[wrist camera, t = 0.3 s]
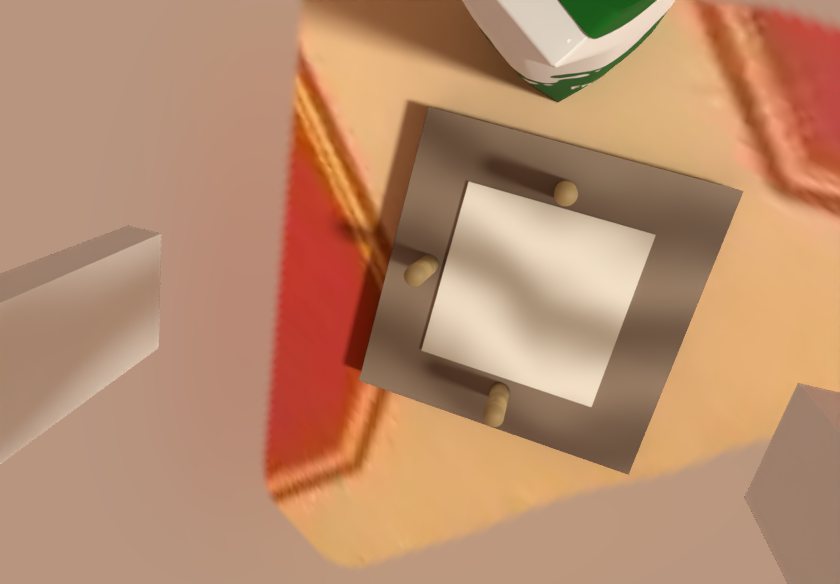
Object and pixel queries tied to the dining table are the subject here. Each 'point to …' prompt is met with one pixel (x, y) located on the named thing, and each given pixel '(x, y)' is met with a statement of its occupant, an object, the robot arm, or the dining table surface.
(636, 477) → the dining table surface
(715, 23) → the dining table surface
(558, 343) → the pin base plate
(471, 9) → the soya milk
